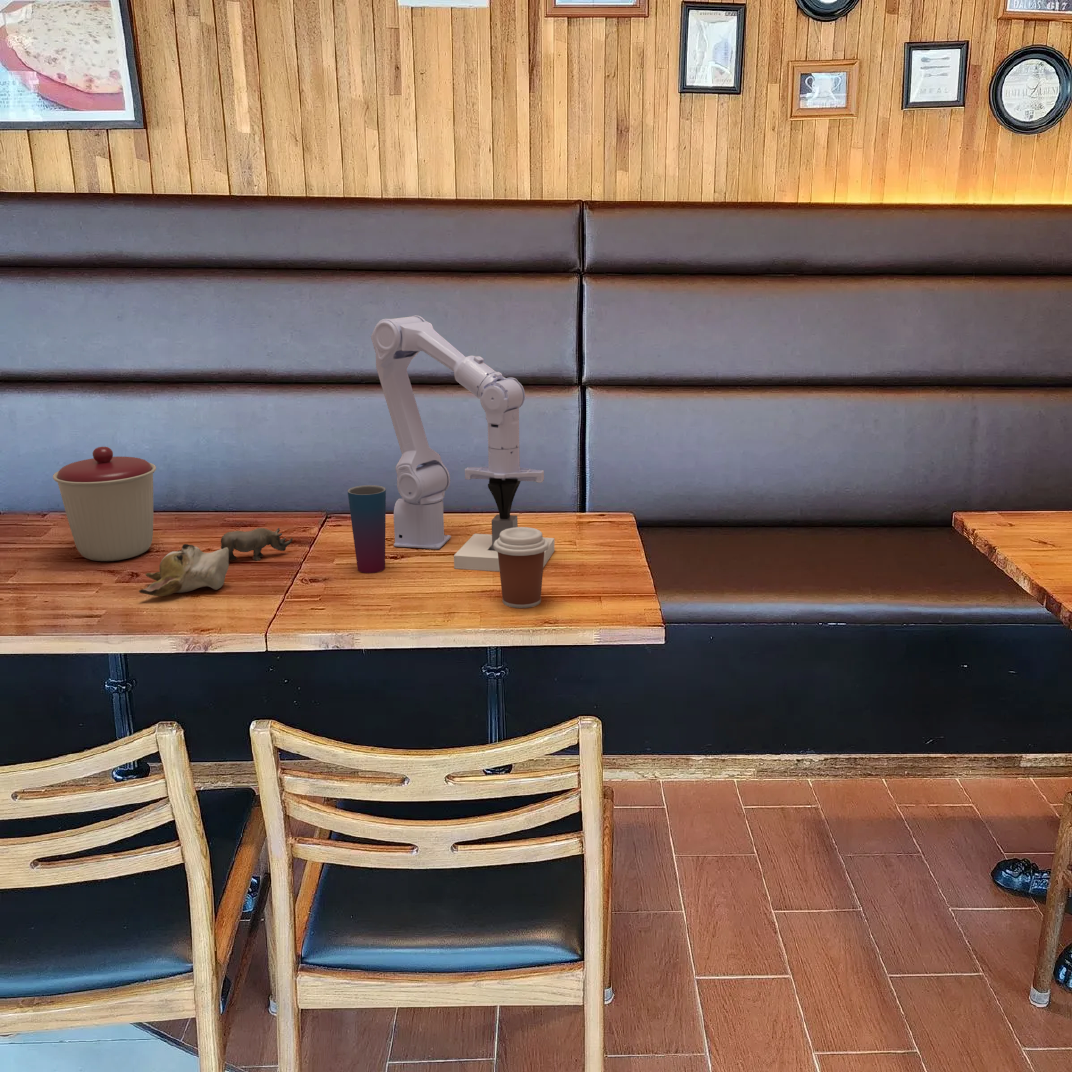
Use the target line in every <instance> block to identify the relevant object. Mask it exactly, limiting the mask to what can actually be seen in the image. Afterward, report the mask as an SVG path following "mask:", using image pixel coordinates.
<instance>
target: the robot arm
mask: <svg viewBox="0 0 1072 1072" xmlns="http://www.w3.org/2000/svg"><path fill="white" fill-rule="evenodd" d="M371 333H372V334H371V335H370V338H371V341H372V346H373V349H374V352H375V366H376V367H375V368H376V372H377V375H378V378H379V382H380V385H381V389H382V392H383V395H384V398H385V403H386V406H387V408H388V412H389V415H390V419H391V421H392V422H391V423H392V425H393V429H394V432H395V436H396V439H397V442H398V445H399V450H400V452H401V457H400V458H399V460H398V462H397V463H396V465H395V469H394V470H395V472H396V477H397V479H396V486H397V491H398V493H399V495H400V497H401V498H400V497H399V498H398V499H397V500H396V502H395V504H394V507H393V528H394V529H393V530H394V531H393V532H394V543H393V547H397V548H398V547H400V548H417V549H418V548H419V549H432V550H433V549H434V550H435V549H436V550H440V549H441V548H442V547H443V546H444V545H445V544H446V543H447V542H448V541H449V540H450V539H451V537H452V535H450V534H445V524H444V523H445V522H444V498H445V497H446V495H445V494H446V493H445V492H446V491H447V490H448V489H449V487H450V485H451V474H450V472H449V470H448V468H447V467H446V465H445V464H444V462H443V460H442V457H441V455H440V454H439V453H438V452H436V450H434V449H432V448H431V447H430V445H429V442H428V441H429V440H428V438H427V434H426V432H425V429H424V424H423V421H422V418H421V413H420V410H419V408H418V407H419V406H418V403H417V401H416V397H415V394H414V391H413V388H412V384H411V380H410V378H409V373H408V368H409V366H410V364H411V362H412V360H413V359H414V358H415V357H416V356H417V355H418V354H419V353H420V352H423V353H425V354H426V355H428V356H429V357H431V358H433V359H434V360H435V361H437V362H439V363H440V364H442V365H443V366H445V367H446V368H448V369H449V370H451V371H452V372H454V373H453V375H454V380H455V381H456V382H457V383H459V385H461V386H462V387H463V388H464V389H466V390H467V391H469V392H470V393H471V394H472V395H473V396H475V397H476V398H477V399H479V402H480V404H481V407H482V409H483V410H484V412H485V420H486V422H487V448H488V449H487V450H488V451H487V454H488V455H487V456H488V458H487V459H488V460H487V461H488V466H467V467H466V468H464V479H465V480H472V479H473V480H489V481H488V483H487V489H488V490H489V491H490V493H491V495H492V497H493V499H494V502H495V504H496V506H497V510H498V511H497V512H498V513H499V514H498V515H500V519H508V518H509V517H510V515H511V511H512V510H511V509H512V506H513V502H514V499H515V496H516V493H517V491H518V489H519V486H520V484H521V482H533V483H534V482H536V483H538V484H539V483H540V484H542V483H543V482H544V479H545V473H544V472H545V470H543V469H534V468H527V467H521V466H520V408H521V407H522V406H523V405H524V402H525V400H526V391H525V389H524V386H523V385H522V383H521V382H519V381H518V379H517V378H515V377H507V378H506V377H505V376H503V374H502V373H501V372H500V371H496V370H494V369H493V368H492V367H491V366H489V365H488V364H486V363H485V362H484V361H485V359H484V357H481V356H480V355H478V356H476V355H468V356H465V355H464V354H463V353H462V352H461V351H459V350H458V349H457V348H456V347H455V346H454V345H452V344H451V343H450V342H449V341H448V340H446V339H445V338H444V337H443V336H442V335H441V334H439V333H438V332H437V331H436V330H435V329H434V327H433V324H432V323H431V322H429V321H426V319H424V317H422V316H420V315H418V314H417V315H416V314H415V315H410V316H407V317H405V316H404V317H398V318H397V317H395V318H383V319H380V320H379V321H378V322H377V323H376V325H375V327H374V329H373V331H372V332H371ZM419 465H421V466H419Z"/></svg>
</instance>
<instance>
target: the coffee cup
mask: <svg viewBox="0 0 1072 1072" xmlns="http://www.w3.org/2000/svg"><path fill="white" fill-rule="evenodd" d="M544 538H545V537H544V536H543V532H542V531H541V530H540V529H537V528H534V527H527V526H518V527H515V528H509V529H505V530H503V531H501V533H500V537H499V538H498V539H497V540H495V542H494V544H493V548H494V549H495V551H497V552H498V560H499V570H500V571H499V578H500V585H501V586H500V588H501V597H502V603H503V604H504V605H505V607H508V608H513V609H529V608H534V607H537V606H539V604H540V605H541V602H542V587H543V576H544V575H543V573H544V568H543V564H544V551H546V550H548V547H549V542H548V541H547V540H546V539H544Z"/></svg>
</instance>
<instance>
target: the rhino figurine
mask: <svg viewBox="0 0 1072 1072" xmlns="http://www.w3.org/2000/svg"><path fill="white" fill-rule="evenodd" d="M280 529H281V528H280V527H278V528H277V529H276V530H275V531H273V530H270V529H268V528H265V527H258V528H255V529H253V530H249V531H242V530H235V531H227V532H226V533H224V534H223V535H222V537H221V538H220V549H224V548H226V547H227V548H228V549H229V560H228V564H230V561H235V560H237V559H238V558H237V556H236V555H235V554H234V550H235V551H238V552H242V553H250V552H251V551H253V554H252V555H253V557H252V560H253V561H255V562H258V561H261V560H262V557H264V554H263V553H262V550H263V549H264V548H265V547H267V546H269V545H270V547H271V548H273V549H274V550H278V551H280V552H285V551H286V549H287V546H289V545H291V543H292V542H293V537H291V538H290V539H289V540H287V541H286V539H287V538H286V537H284V538H281V536H282V535H283V532H281V533H280Z"/></svg>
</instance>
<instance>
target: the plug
mask: <svg viewBox="0 0 1072 1072" xmlns="http://www.w3.org/2000/svg"><path fill="white" fill-rule="evenodd" d="M515 527H519V526H518V515H515V514H510V517H509V518H508V519H500V515H499V514H495V516H494V517H493V518H492V519H491V535H492V551H495V549H494V548H493V544H494V542H495V540H497V539H498V538H499V537H500V533H501V531H503V530H505V529H509V528H515Z"/></svg>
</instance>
